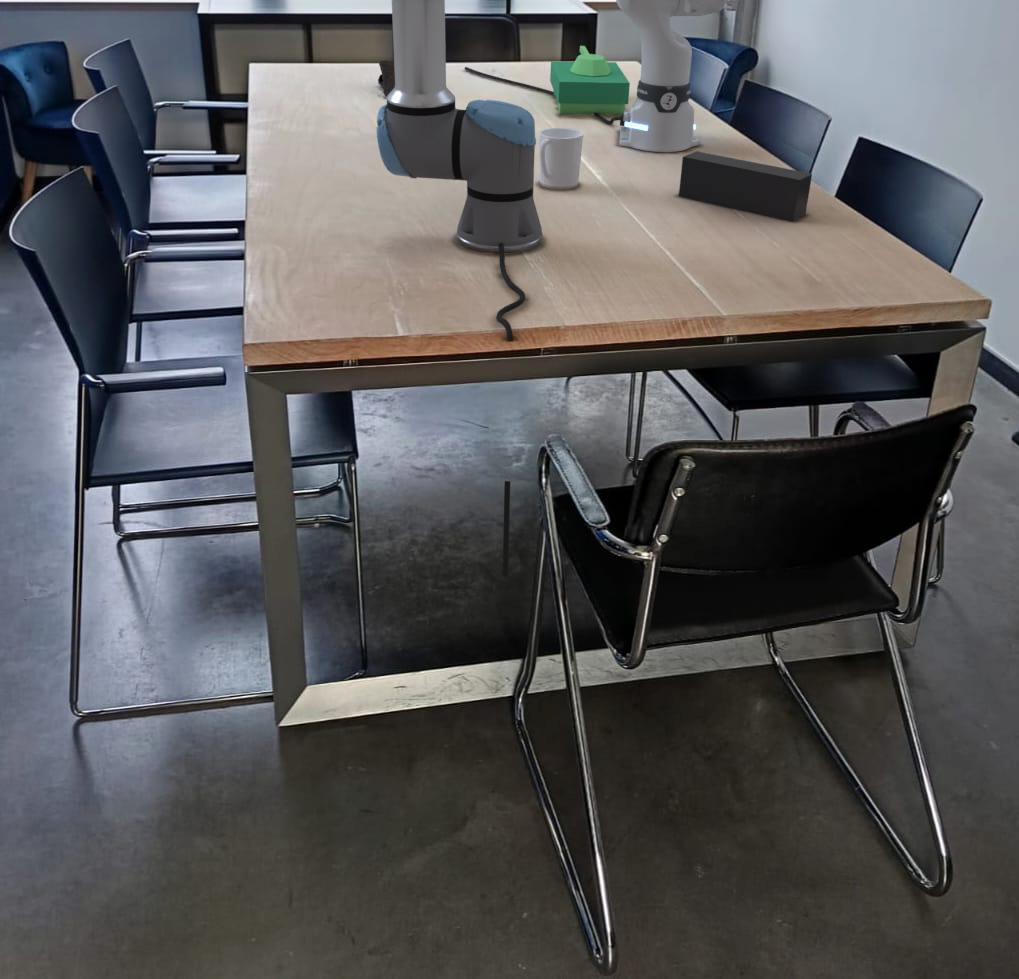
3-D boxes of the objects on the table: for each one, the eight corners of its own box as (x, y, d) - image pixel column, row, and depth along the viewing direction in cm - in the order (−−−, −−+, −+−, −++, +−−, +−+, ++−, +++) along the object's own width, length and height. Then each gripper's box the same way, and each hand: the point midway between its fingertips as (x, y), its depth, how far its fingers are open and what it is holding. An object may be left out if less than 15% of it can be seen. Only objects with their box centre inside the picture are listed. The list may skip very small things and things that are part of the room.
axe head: (443, 87, 294) (392, 77, 287) (436, 115, 299) (385, 106, 292) (421, 62, 307) (371, 52, 300) (414, 89, 311) (365, 80, 304)
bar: (805, 214, 212) (812, 173, 208) (793, 221, 209) (799, 179, 204) (692, 190, 225) (696, 150, 221) (678, 196, 221) (682, 156, 217)
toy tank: (613, 42, 301) (631, 67, 272) (609, 89, 308) (626, 118, 278) (549, 41, 300) (560, 66, 271) (547, 88, 307) (557, 117, 277)
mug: (554, 175, 232) (556, 125, 226) (589, 183, 227) (592, 132, 222) (522, 186, 224) (523, 135, 219) (557, 195, 220) (559, 142, 214)
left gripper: (541, -107, 213) (537, 11, 224) (414, -110, 214) (416, 7, 225) (538, -105, 207) (535, 17, 218) (408, -108, 208) (411, 12, 219)
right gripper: (754, -72, 208) (745, 7, 215) (663, -71, 200) (657, 11, 207) (775, -70, 203) (765, 11, 210) (682, -68, 195) (675, 16, 202)
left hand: (474, 12), depth 221 cm, fingers open, 13 cm apart
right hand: (710, 11), depth 208 cm, fingers open, 8 cm apart
